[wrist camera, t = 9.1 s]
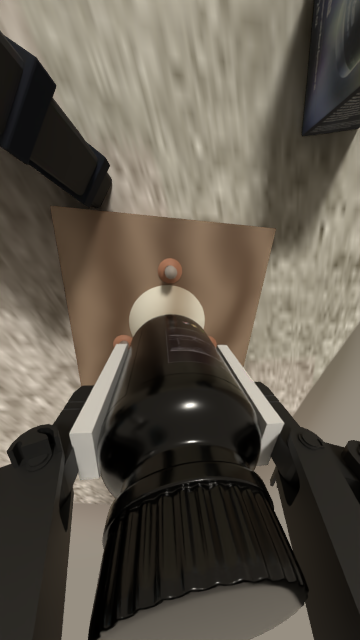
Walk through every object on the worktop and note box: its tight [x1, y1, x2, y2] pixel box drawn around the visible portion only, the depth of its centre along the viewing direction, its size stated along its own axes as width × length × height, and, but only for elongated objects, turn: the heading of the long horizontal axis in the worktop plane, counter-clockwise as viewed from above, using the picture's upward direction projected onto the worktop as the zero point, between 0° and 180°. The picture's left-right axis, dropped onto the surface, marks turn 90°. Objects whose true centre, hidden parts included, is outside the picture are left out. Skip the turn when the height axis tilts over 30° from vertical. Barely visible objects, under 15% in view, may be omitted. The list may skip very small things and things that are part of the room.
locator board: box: [50, 206, 276, 386], centre depth 20 cm, size 22×22×4 cm
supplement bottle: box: [88, 314, 309, 640], centre depth 9 cm, size 7×7×12 cm
